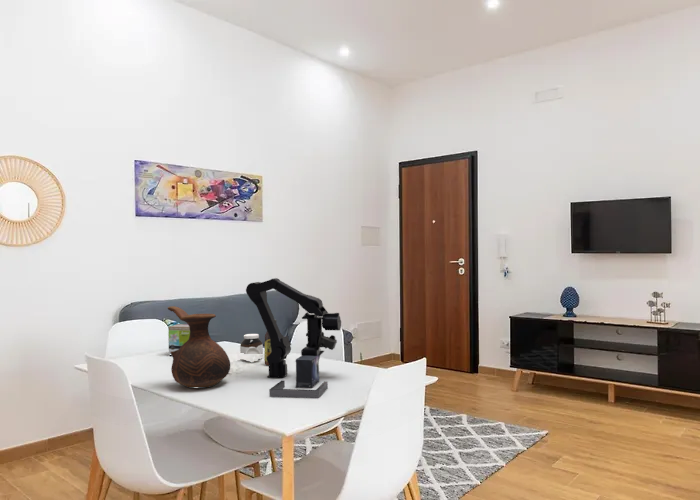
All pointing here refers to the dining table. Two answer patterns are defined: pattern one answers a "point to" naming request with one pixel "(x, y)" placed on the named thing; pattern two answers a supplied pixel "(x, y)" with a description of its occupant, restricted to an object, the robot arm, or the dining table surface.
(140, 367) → the dining table surface
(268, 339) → the sauce bottle
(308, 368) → the small box
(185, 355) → the jug
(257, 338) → the spread jar
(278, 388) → the guide rails
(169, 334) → the tea box
